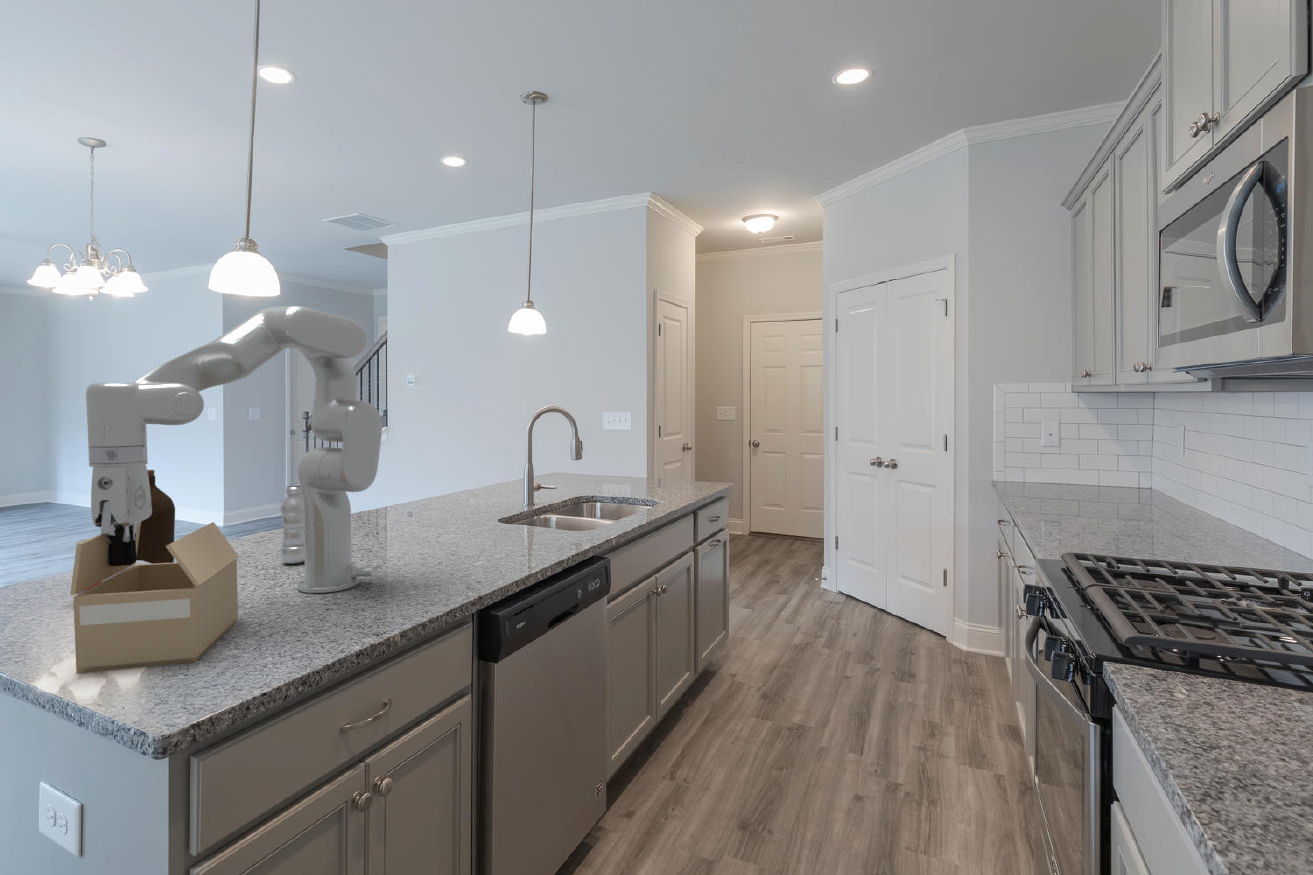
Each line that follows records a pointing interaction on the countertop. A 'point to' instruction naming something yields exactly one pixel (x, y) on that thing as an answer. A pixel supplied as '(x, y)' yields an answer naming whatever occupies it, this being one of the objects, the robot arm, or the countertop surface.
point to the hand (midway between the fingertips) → (122, 564)
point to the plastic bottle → (293, 526)
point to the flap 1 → (94, 563)
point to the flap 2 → (202, 553)
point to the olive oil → (157, 527)
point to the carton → (152, 617)
